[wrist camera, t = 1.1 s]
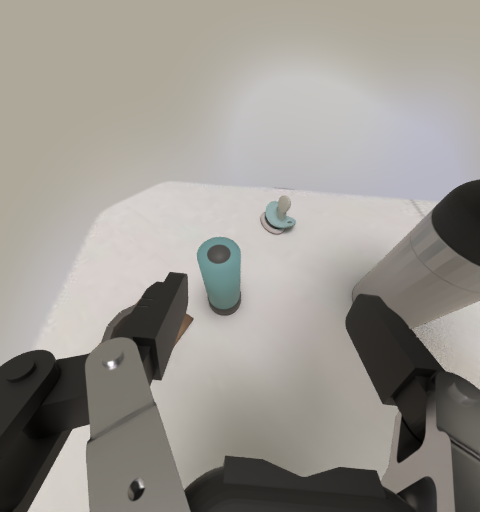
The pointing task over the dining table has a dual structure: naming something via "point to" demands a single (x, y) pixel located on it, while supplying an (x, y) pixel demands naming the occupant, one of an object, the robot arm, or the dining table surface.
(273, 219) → the pacifier
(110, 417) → the robot arm
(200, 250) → the teal cylinder
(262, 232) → the dining table surface
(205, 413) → the dining table surface
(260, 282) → the dining table surface
